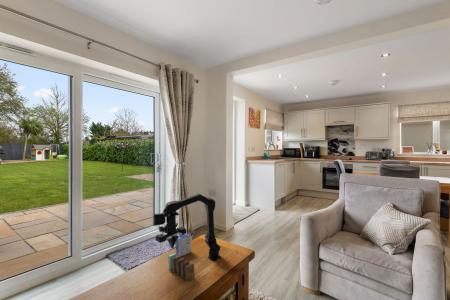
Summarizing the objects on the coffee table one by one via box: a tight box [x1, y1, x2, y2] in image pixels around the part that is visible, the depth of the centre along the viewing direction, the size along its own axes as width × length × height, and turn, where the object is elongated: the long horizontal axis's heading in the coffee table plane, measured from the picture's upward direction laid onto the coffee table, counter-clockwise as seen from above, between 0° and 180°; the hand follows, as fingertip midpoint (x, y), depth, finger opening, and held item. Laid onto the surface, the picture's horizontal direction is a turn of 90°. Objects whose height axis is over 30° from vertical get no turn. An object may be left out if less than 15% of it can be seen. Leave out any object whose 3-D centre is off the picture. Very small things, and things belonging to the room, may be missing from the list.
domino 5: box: [185, 262, 196, 283], centre depth 120 cm, size 2×5×8 cm, turn 137°
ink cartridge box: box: [174, 233, 192, 257], centre depth 150 cm, size 10×6×14 cm, turn 131°
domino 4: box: [180, 260, 190, 279], centre depth 123 cm, size 2×5×8 cm, turn 136°
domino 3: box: [176, 257, 186, 276], centre depth 126 cm, size 2×5×8 cm, turn 137°
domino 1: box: [167, 252, 177, 270], centre depth 132 cm, size 2×5×8 cm, turn 137°
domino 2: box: [171, 255, 182, 273], centre depth 129 cm, size 2×5×8 cm, turn 136°
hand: (172, 248), depth 132 cm, fingers closed
